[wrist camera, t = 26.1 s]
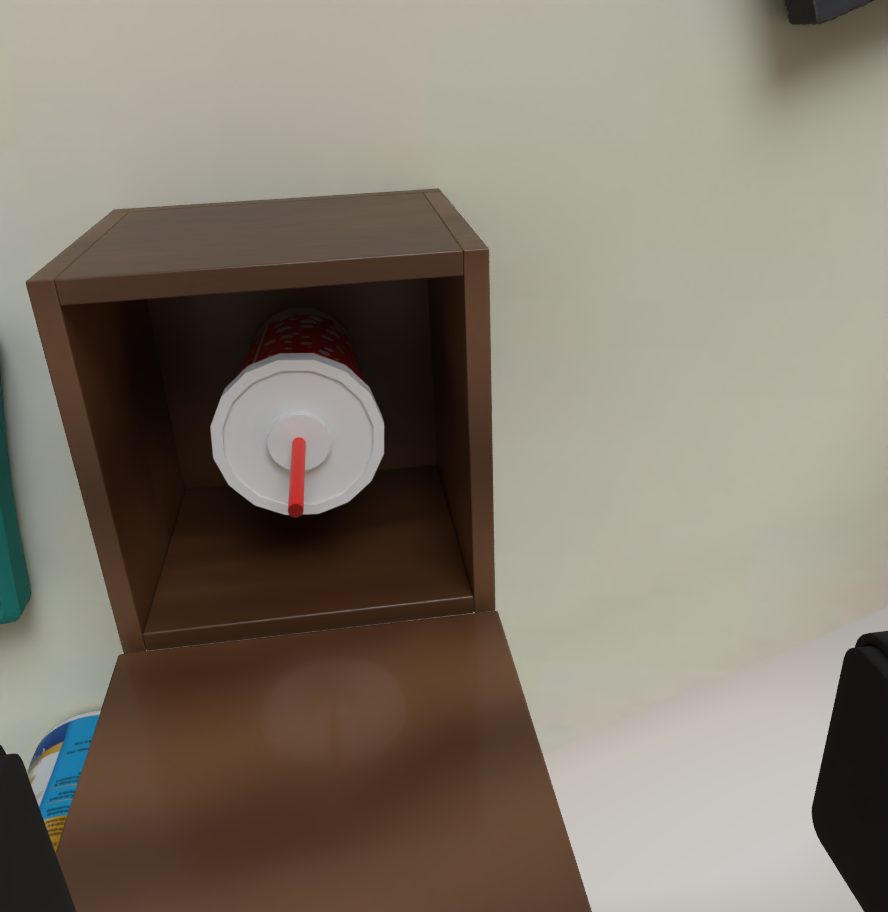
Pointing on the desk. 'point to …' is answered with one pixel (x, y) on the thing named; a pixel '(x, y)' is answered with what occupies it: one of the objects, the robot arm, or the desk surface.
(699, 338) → the desk surface
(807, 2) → the disk drive
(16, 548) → the digital multimeter
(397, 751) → the lid
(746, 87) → the desk surface
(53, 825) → the beverage bottle
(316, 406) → the beverage cup
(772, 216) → the desk surface
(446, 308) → the bin
